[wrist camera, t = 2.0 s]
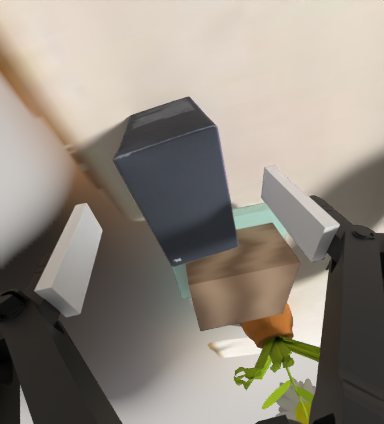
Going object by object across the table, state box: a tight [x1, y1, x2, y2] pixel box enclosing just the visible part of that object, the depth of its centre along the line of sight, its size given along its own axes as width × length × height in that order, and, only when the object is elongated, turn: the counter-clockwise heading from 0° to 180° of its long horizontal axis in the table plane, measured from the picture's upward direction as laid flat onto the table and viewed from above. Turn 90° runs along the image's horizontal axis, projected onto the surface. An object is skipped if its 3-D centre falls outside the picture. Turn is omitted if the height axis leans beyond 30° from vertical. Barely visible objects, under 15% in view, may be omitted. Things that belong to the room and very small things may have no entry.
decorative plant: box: [234, 303, 320, 424], centre depth 40 cm, size 27×24×25 cm
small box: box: [113, 97, 239, 267], centre depth 18 cm, size 11×6×10 cm, turn 15°
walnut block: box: [185, 223, 300, 331], centre depth 29 cm, size 13×13×7 cm
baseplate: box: [172, 203, 287, 299], centre depth 33 cm, size 18×18×2 cm
